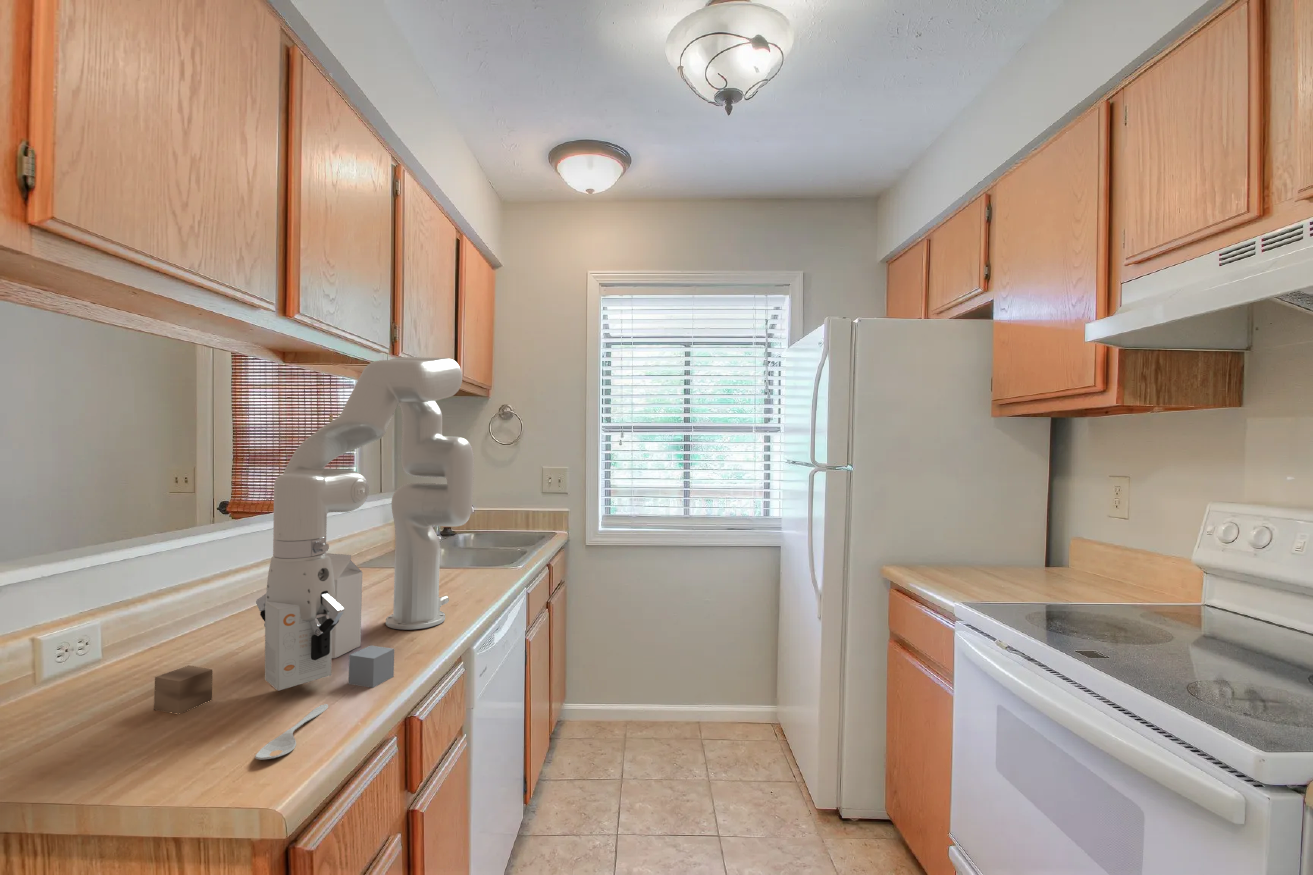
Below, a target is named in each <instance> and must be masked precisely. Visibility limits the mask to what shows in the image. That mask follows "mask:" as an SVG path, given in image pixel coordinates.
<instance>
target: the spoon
mask: <svg viewBox="0 0 1313 875" xmlns="http://www.w3.org/2000/svg"><path fill="white" fill-rule="evenodd" d="M323 704H324V705H323ZM323 704H321V705H318V706H319V707H318V706H317V707H315V708H314V709H313V710H311V711H310V712H309V713H308V714H306V715H305V716H304V717H303V718H302V719H301V720H300V721H298V722H297V723H296V724H295V725H294V726H292V727H291V728H288V729H287V730H285V731H284V732H283V733H281V734H280V735H278V736H277V737H276V738H274V739H272V740H270V741H269V742H268V743H267V744H265V745H264V746H263V747H262V748H260V750H258V752H257V753H256V754H255V755H254V759H256V760H263V761H264V760H272V759H277V758H279V757H282V756H285V755H287V754H289V753H291V752H292V751H293V750H294V749H295V748H296V746H297V740H296V738H295V737H294V732H295V731H296V730H298V729H299V728H300V727H302V726H303V725H304V724H306V723H307V722H310V721H311V720H313V719H315V718H316V717H318V716H320V715H321V714H322V713H324V712H325V711H326V710H327V709H328V708H329V704H327V703H323ZM275 751H276V752H277V751H280V753H279V754H276V755H271V754H272V752H275Z"/></svg>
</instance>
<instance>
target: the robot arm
mask: <svg viewBox="0 0 1313 875" xmlns="http://www.w3.org/2000/svg"><path fill="white" fill-rule="evenodd" d="M361 372H362V373H360V376H359V377H358V379H357V381H356V384H355V386H354V388H353V389H352V391H351V393H350V395H349V397H348V399H347V400H346V404H344V407H343V409H342V411H341V413H340V414H339V416H338V417H336V418H335V419H333V420H331V421H330V422H329V423H327V424H325V425H323V426H322V427H321V428H320V429H318V430H317V431H315V432H314V433H313V434H311V435H310V436H308V437H307V438H306V439H305V440H304V441H303V442H302V443H301V444H299V446H298V447H297V448H296V449H295V451H294V452H293V454H292V456H291V458H290V460H289V461H288V463H287V465H286V467H285V469H284V471H283V473H282V474H281V475H279V476H277V477H276V478H275V480H274V485H273V532H272V534H273V536H272V537H273V539H272V541H273V544H272V557H271V559H270V562H269V566H268V567H269V568H268V572H267V580H266V593H264V594H263V595H262V596H260V597H259V598H257V599H256V601H255V603H256V606H257V608H258V611H259V615H260V617H261V619H262V620H263V622H264V623H263V625H264V627H265V602H266V601H269V602H277V603H285V604H292V605H299V608H300V616H301V620H304V621H309V623H310V625H311V627H312V629H313V631H314V633H315V635H312V637H311V659H312V660H317V659H319V658H322V657H324V656H326V655H328V654H329V653H330V631H332V630H333V629H334V626H335V625H336V624H337V623H338V622H339V619H340V617H341V616H342V614H343V612H344V608H343V607H342V606H341V605H340V604H339V603H337V602H336V601H335V585H334V574H333V568H332V563H331V559H330V556H327V555H326V553H327V552H328V551H329V549H330V545H329V544H328V543H327V522H328V521H327V520H328V518H327V517H328V514H330V513H350V512H352V511H355V510H357V509H359V508H360V507H362V506H363V505H364V503H365V502H366V501H367V499H368V496H369V494H370V485H369V482H368V480H367V479H366V477H365V476H364V475H362V474H361V473H359V472H357V471H354V470H352V469H339V468H338V469H337V468H326V466H327V465H328V464H329V463H331V462H332V461H333V460H335V459H336V458H338V457H339V456H342V455H344V454H346V453H348V452H351V451H354V450H357V449H360V448H362V447H365V446H367V445H370V444H373V443H375V442H377V441H379V440H381V439H382V438H383V437H385V435H386V432H387V430H388V428H389V426H390V424H391V421H392V418H393V417H394V415H395V412H396V410H397V408H398V407H399V408H400V410H401V417H402V430H401V431H402V432H401V433H402V434H401V435H402V437H401V458H400V459H401V467H402V470H403V472H404V473H405V474H406V475H409V476H412V477H418V478H419V477H420V478H434V479H435V478H436V479H437V478H438V479H439V478H440V479H443V478H444V479H446V483H432V482H430V483H429V482H428V483H427V482H411V483H410V482H409V483H405V484H403V485H401V486H399V487H397V489H396V490H395V491H394V493H393V495H392V498H391V512H392V517H393V518H392V519H393V523H394V524H393V525H394V533H395V534H394V536H395V538H394V540H395V541H394V543H395V544H394V545H395V547H394V549H395V550H394V551H395V552H394V572H393V573H394V576H393V577H394V579H393V582H394V583H393V613H392V614H390V615H388V616H387V617H386V618H385V625H386V626H387V627H388V628H390V629H395V630H401V631H402V630H403V631H405V630H406V631H407V630H408V631H409V630H421V629H428V628H432V627H435V626H438V625H440V624H442V623H443V622H445V619H446V614H445V612H443V611H441V607H442V606H444V605H447V604H448V603H449V602H450V599H449V597H448V595H444V596H441V597H440V594H439V590H440V562H441V561H440V560H441V556H440V555H441V543H440V538H439V537H438V535H437V533H436V531H435V529H434V528H433V526H434V527H437V526H438V527H461V526H464V525H465V524H466V523H467V522H468V521H469V520H470V517H471V516H472V512H473V511H472V510H473V500H474V499H473V498H474V478H475V477H474V475H475V474H474V472H475V454H474V450H473V447H472V445H471V443H470V441H468V440H467V439H466V438H464V437H460V436H454V435H453V436H448V435H443V414H442V413H443V412H442V410H441V408H440V406H439V405H438V403H437V402H436V401H440V400H443V399H448V398H450V397H453V396H454V395H456V394H457V393H458V392H459V390H460V389H461V386H462V383H463V372H462V368H461V366H460V365H459V364H458V362H457V361H456V360H454V359H452V358H449V357H422V356H421V357H420V356H418V357H417V356H415V357H414V356H413V357H412V356H407V357H406V356H404V357H394V358H390V359H381V360H375V361H372V362H370V363H368V364H367V365H366V366H365V367H364V369H363V370H362V371H361ZM321 604H322V605H323V606H324V607H325V608H326V609H327V610H328V611H327V612H330V615H329V616H328V614H327V612H326V610H324V609H323V613H321V614H318V615H316V614H317V611H318V610H319V608H320V605H321ZM321 618H322V623H323V624H322V625H320V623H319V621H318V620H319V619H321Z"/></svg>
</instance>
